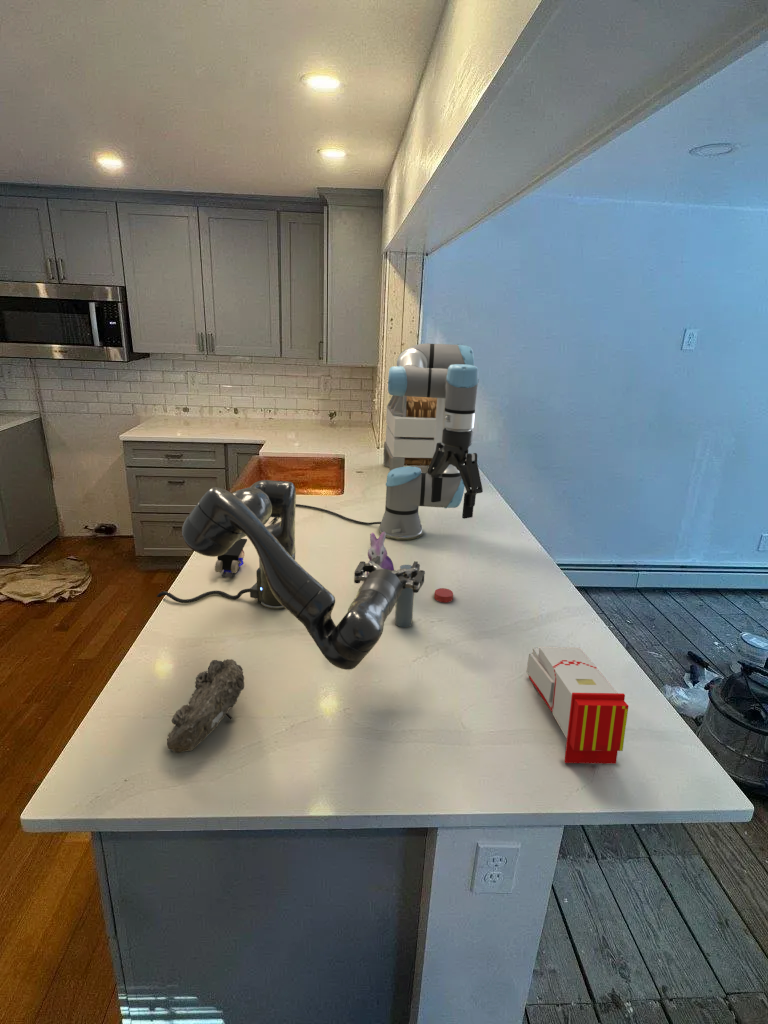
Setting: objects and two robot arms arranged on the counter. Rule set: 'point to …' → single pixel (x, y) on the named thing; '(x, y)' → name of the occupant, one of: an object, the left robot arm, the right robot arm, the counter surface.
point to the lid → (443, 595)
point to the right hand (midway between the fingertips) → (450, 509)
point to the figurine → (379, 551)
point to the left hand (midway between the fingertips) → (397, 562)
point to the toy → (580, 703)
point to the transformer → (409, 431)
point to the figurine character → (231, 558)
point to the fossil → (206, 705)
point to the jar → (404, 605)
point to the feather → (273, 520)
